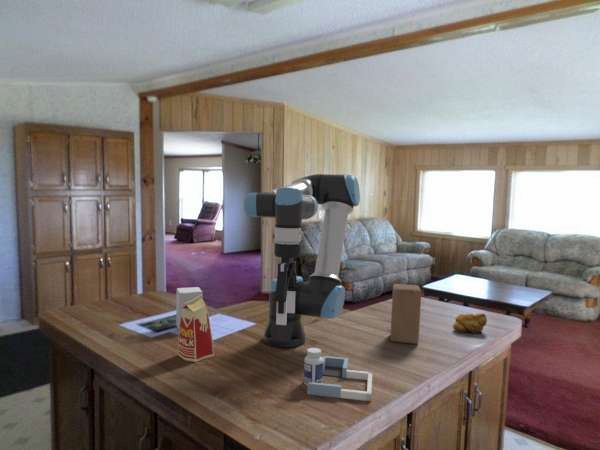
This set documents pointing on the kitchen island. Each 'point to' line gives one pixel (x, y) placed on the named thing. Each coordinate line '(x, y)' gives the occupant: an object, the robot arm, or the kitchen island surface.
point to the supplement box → (185, 300)
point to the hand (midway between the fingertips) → (285, 318)
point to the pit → (333, 371)
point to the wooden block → (405, 313)
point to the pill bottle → (313, 366)
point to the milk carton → (195, 332)
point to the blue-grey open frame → (329, 389)
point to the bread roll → (470, 323)
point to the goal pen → (355, 393)
